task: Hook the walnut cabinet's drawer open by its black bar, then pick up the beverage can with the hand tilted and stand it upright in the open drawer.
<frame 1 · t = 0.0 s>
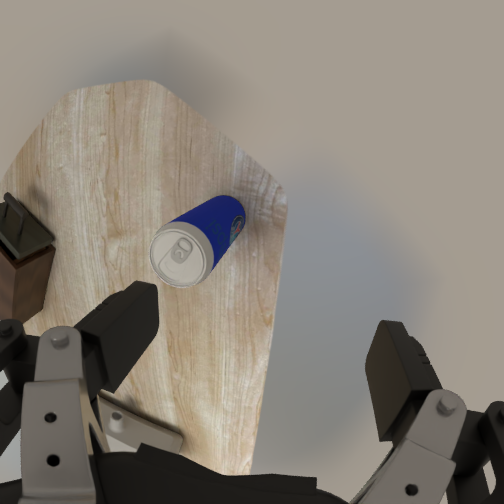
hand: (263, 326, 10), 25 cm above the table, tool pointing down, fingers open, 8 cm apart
beverage can: (225, 215, 35), on the table
cabinet: (26, 259, 43), on the table
drawer: (11, 247, 37), point 5 cm above the table, slide at 1.0 cm
tank: (130, 414, 52), on the table
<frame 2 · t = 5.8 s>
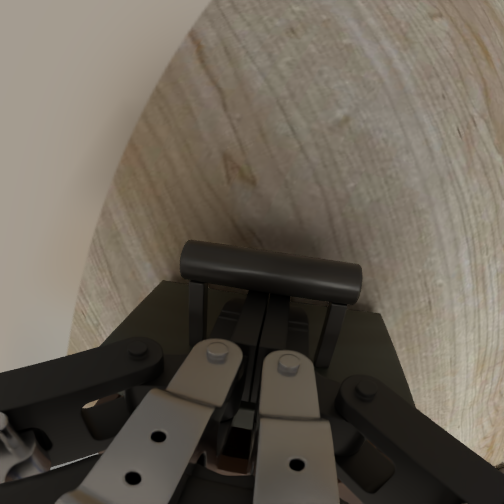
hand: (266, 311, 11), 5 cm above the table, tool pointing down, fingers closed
cabinet: (252, 413, 20), on the table
drawer: (250, 414, 14), point 5 cm above the table, slide at 2.0 cm
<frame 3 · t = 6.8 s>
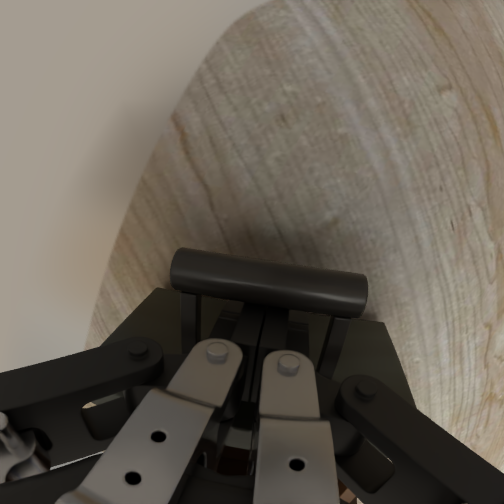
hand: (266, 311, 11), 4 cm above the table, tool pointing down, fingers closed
drawer: (247, 427, 13), point 5 cm above the table, slide at 7.1 cm, touching gripper
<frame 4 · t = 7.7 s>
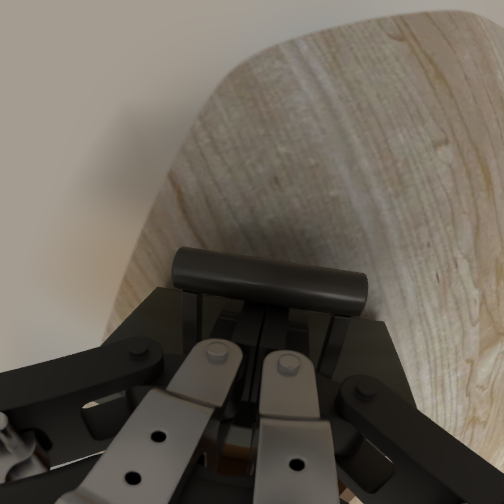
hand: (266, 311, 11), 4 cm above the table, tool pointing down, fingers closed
drawer: (248, 426, 13), point 5 cm above the table, slide at 10.1 cm, touching gripper
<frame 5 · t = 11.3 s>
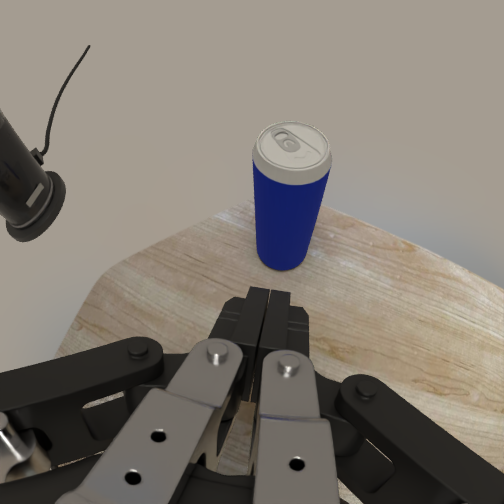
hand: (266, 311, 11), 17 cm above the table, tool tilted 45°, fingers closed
beverage can: (281, 250, 31), on the table
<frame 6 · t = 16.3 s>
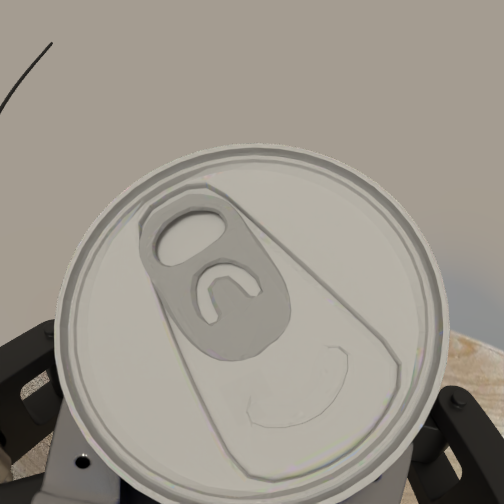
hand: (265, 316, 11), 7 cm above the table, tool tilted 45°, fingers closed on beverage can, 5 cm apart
beverage can: (259, 373, 17), on the table, touching gripper
when the fingers open (9 cm above the table, at t = 27.8 s): beverage can stays where it is, resting on drawer.
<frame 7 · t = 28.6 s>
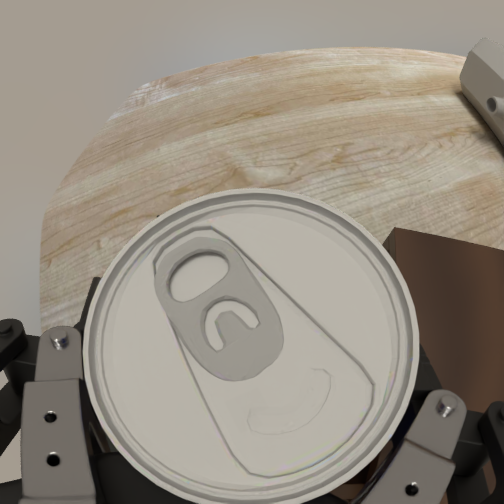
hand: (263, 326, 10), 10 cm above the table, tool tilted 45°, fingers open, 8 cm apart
beverage can: (260, 377, 17), point 2 cm above the table, touching drawer
cabinet: (430, 388, 17), on the table
drawer: (238, 368, 15), point 5 cm above the table, slide at 10.2 cm, touching beverage can
tank: (503, 143, 30), on the table
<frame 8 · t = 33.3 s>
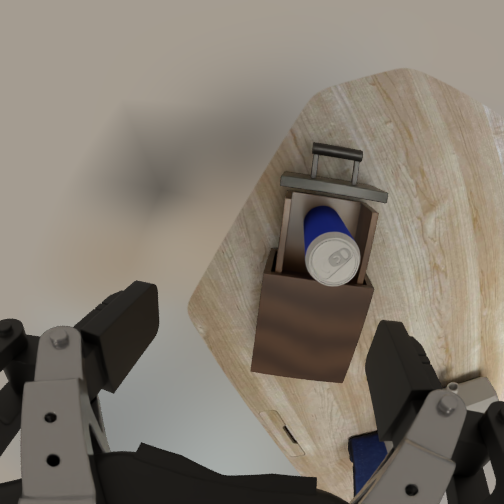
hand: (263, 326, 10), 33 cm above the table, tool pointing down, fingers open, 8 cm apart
beverage can: (322, 223, 40), point 2 cm above the table, touching drawer
cabinet: (307, 301, 46), on the table
book: (376, 433, 55), on the table
drawer: (326, 220, 37), point 5 cm above the table, slide at 10.2 cm, touching beverage can
tank: (435, 392, 49), on the table
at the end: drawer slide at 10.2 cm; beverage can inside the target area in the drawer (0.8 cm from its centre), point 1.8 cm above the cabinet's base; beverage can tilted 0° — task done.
